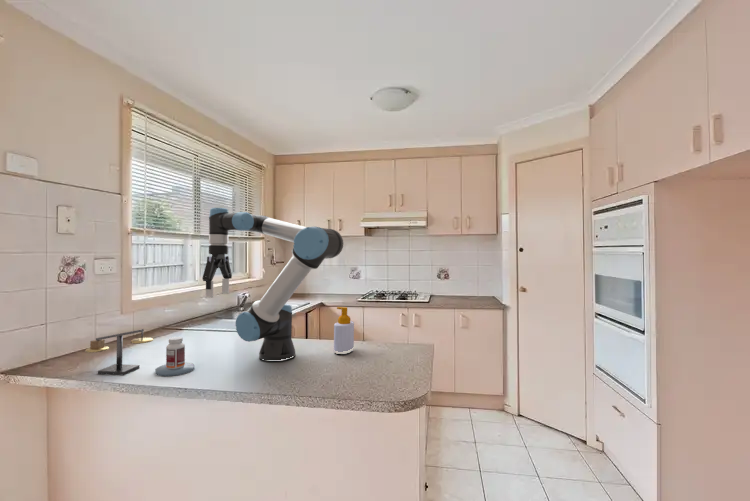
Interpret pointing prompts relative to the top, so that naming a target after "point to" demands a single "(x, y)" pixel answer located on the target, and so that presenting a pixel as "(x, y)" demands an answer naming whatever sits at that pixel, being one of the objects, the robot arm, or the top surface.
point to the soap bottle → (343, 332)
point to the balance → (118, 367)
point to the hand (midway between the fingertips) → (217, 295)
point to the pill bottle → (175, 353)
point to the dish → (174, 370)
